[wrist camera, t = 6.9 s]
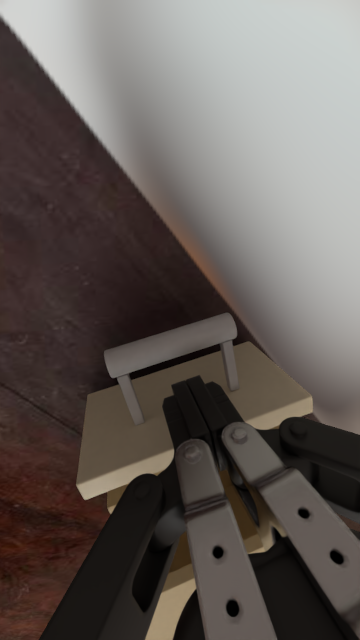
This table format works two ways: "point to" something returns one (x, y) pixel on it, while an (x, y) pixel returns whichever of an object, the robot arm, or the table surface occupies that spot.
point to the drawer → (148, 417)
